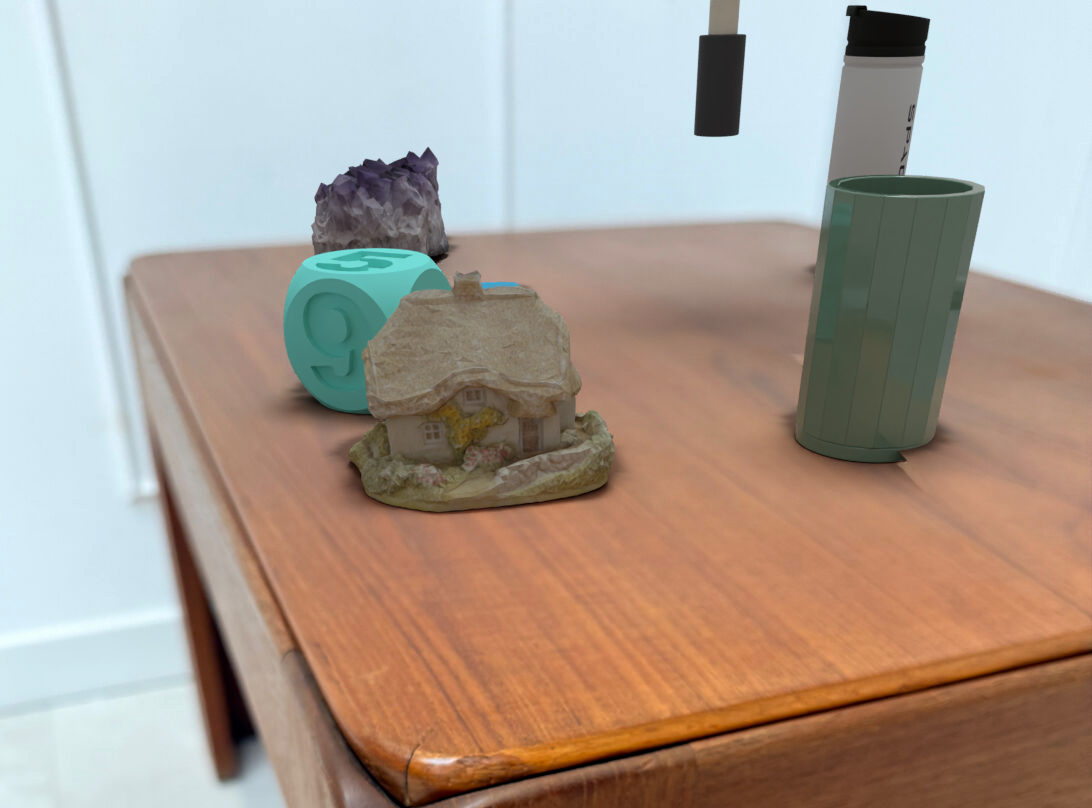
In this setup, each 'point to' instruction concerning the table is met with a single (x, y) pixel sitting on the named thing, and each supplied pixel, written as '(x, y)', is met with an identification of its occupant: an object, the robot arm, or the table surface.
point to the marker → (720, 72)
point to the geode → (382, 208)
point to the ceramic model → (476, 404)
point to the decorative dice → (347, 316)
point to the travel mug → (877, 93)
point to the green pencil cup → (884, 312)
